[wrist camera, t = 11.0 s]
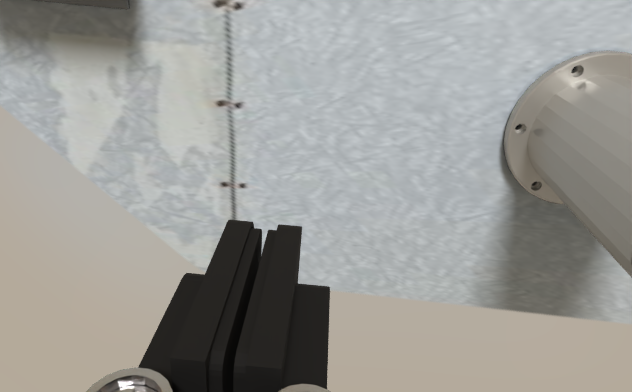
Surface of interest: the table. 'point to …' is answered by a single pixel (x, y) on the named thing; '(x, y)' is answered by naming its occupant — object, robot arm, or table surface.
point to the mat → (96, 3)
